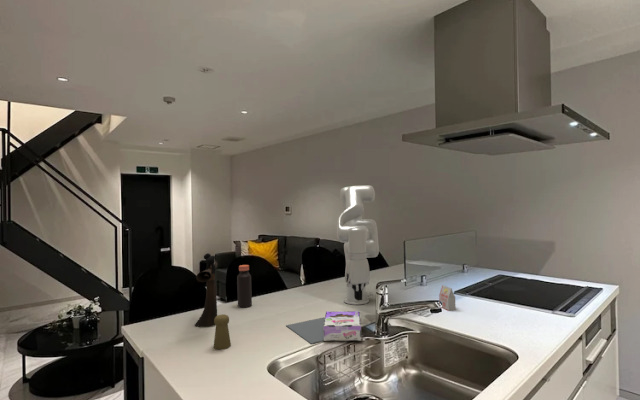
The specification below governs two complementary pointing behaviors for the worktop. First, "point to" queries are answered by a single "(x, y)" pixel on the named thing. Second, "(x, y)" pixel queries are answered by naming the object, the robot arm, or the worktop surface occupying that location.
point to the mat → (309, 330)
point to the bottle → (244, 287)
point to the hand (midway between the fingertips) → (358, 299)
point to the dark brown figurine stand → (208, 293)
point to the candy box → (342, 326)
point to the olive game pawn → (221, 332)
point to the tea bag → (447, 298)
